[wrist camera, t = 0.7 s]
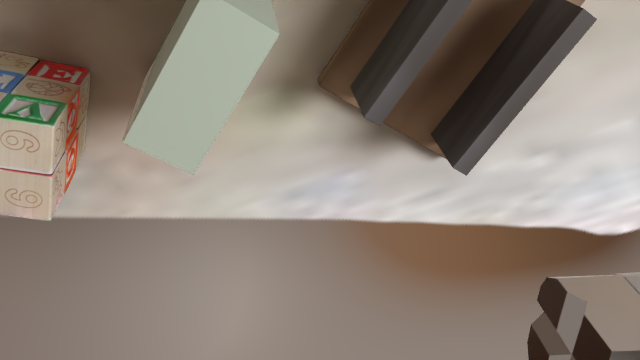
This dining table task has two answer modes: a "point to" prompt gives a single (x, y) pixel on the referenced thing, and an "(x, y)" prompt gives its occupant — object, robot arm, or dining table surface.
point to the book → (200, 78)
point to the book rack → (452, 66)
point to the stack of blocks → (39, 133)
